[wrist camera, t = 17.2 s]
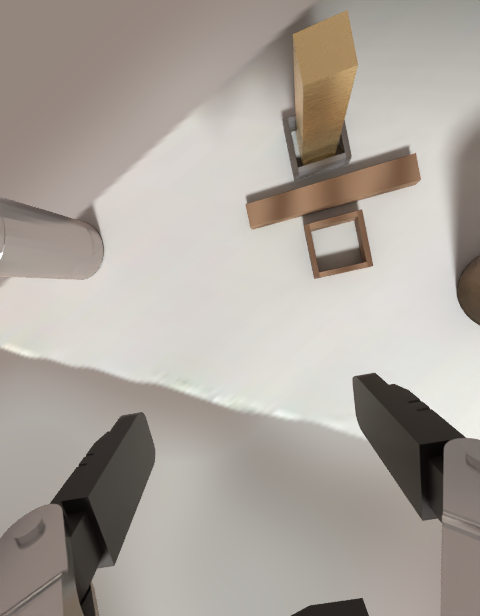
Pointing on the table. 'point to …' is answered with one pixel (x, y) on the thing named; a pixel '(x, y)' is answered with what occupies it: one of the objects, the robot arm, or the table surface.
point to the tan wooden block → (322, 85)
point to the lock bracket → (333, 195)
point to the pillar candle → (470, 290)
